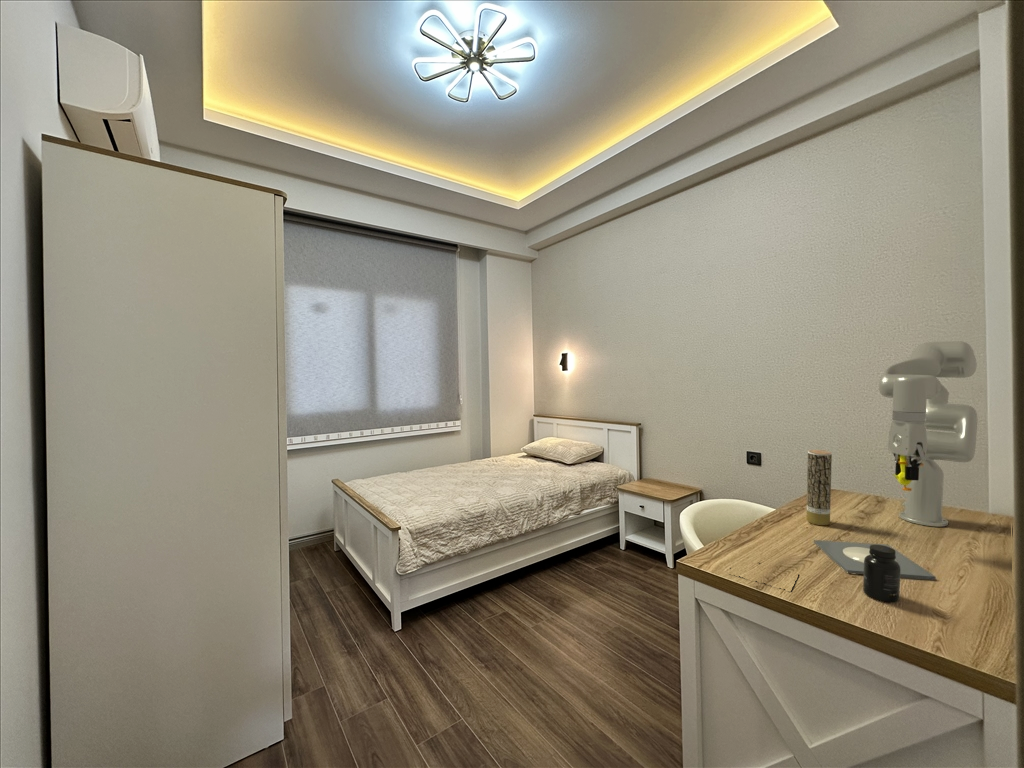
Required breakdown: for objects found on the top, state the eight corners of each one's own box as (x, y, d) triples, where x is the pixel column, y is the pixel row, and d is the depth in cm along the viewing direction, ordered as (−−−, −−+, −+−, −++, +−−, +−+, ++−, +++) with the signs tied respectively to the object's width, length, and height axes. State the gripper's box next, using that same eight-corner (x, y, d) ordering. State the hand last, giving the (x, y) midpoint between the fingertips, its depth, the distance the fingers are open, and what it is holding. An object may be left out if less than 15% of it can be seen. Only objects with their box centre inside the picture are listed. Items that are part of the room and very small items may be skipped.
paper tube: (833, 526, 151) (835, 454, 150) (811, 525, 152) (813, 453, 151) (824, 519, 158) (825, 450, 156) (802, 518, 159) (804, 449, 158)
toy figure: (922, 490, 132) (922, 450, 132) (923, 493, 129) (923, 452, 129) (892, 487, 136) (893, 448, 136) (893, 489, 134) (893, 449, 134)
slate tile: (813, 543, 138) (813, 539, 138) (887, 547, 134) (887, 543, 134) (847, 573, 119) (847, 569, 119) (935, 580, 115) (935, 575, 115)
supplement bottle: (855, 589, 111) (857, 543, 110) (880, 588, 111) (882, 541, 111) (880, 605, 104) (882, 555, 103) (907, 603, 105) (909, 553, 104)
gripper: (877, 413, 141) (875, 470, 142) (913, 421, 125) (910, 485, 126) (905, 414, 140) (903, 471, 141) (944, 421, 123) (941, 486, 124)
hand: (906, 477), depth 133 cm, fingers closed on toy figure, 3 cm apart
